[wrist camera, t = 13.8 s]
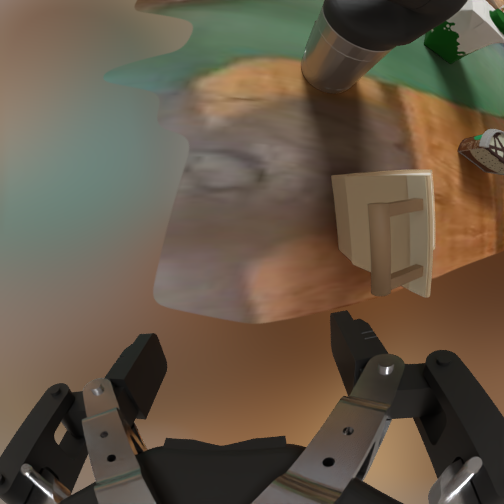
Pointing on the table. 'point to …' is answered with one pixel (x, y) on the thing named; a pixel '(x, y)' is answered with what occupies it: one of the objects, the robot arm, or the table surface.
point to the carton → (342, 204)
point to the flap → (392, 230)
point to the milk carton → (467, 31)
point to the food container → (485, 151)
